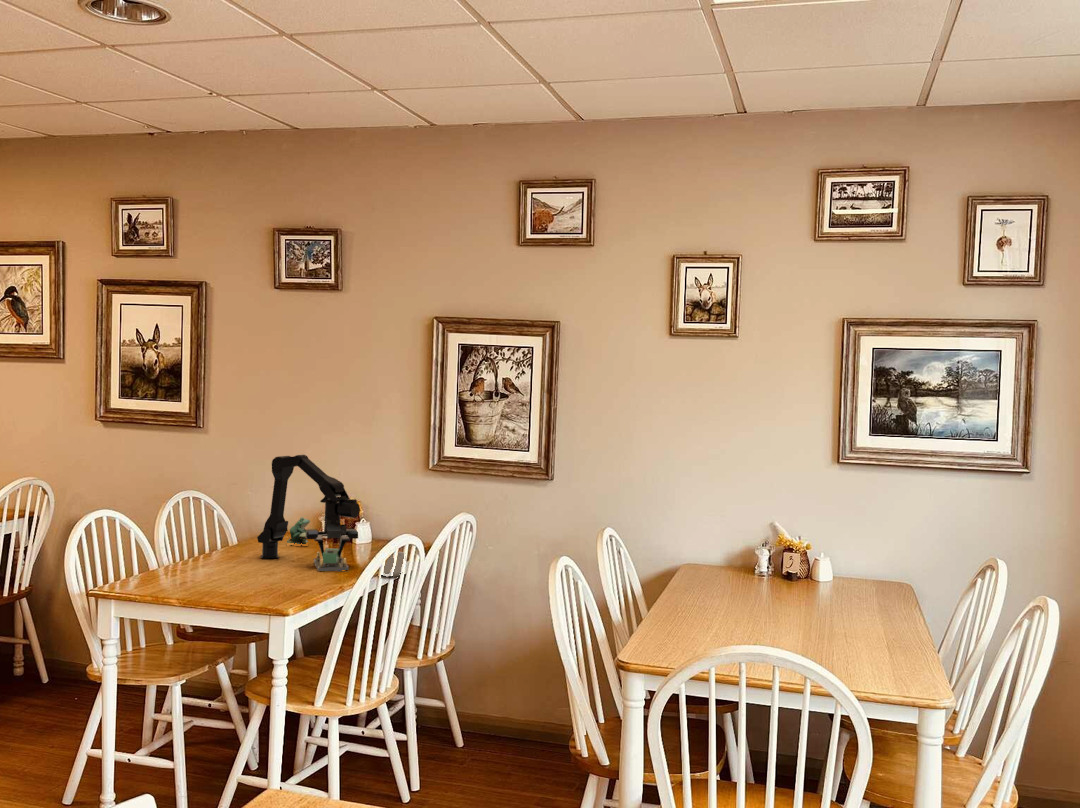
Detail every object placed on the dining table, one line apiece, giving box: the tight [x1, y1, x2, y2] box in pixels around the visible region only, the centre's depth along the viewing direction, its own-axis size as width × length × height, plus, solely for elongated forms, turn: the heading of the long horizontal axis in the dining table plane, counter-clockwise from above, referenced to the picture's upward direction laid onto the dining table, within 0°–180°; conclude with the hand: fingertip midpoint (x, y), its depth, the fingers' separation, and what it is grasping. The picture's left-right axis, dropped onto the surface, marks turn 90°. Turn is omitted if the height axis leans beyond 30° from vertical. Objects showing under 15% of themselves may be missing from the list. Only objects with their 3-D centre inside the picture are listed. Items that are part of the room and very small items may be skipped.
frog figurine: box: [286, 516, 311, 544], centre depth 400 cm, size 18×18×12 cm
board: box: [322, 547, 339, 563], centre depth 359 cm, size 10×5×4 cm, turn 5°
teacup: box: [374, 551, 405, 578], centre depth 350 cm, size 14×11×8 cm
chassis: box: [313, 551, 350, 572], centre depth 359 cm, size 17×11×4 cm, turn 18°
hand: (331, 557), depth 359 cm, fingers closed on board, 5 cm apart
